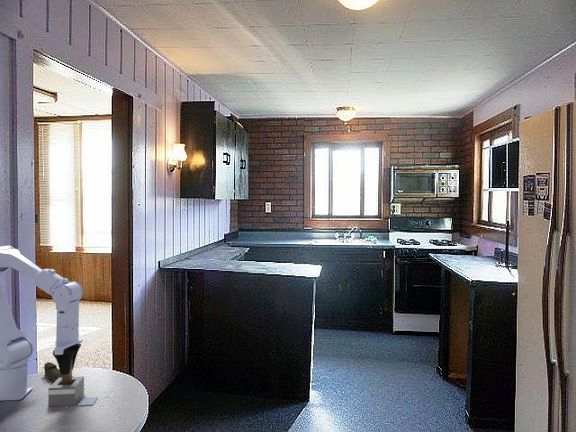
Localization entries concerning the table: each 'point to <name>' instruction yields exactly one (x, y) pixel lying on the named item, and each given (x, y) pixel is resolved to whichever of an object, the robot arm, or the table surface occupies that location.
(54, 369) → the brown rough rod
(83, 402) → the pad
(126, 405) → the table surface
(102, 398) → the table surface
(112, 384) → the table surface
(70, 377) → the wooden rod
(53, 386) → the gray hollow box
